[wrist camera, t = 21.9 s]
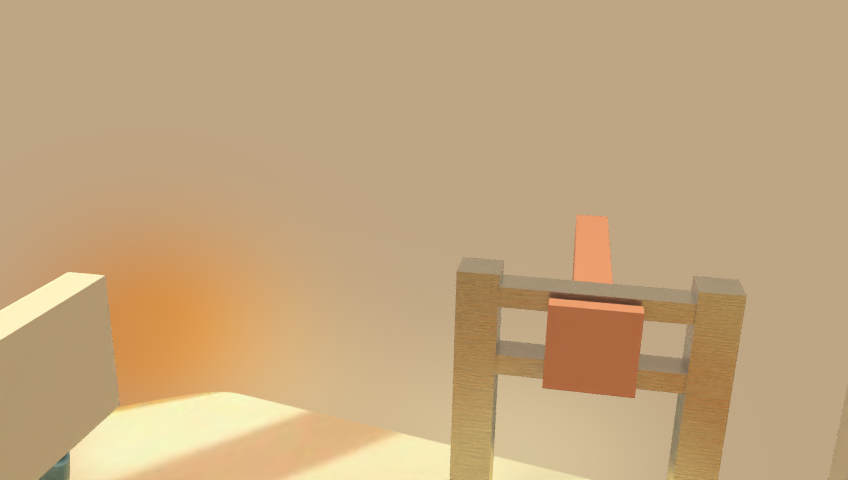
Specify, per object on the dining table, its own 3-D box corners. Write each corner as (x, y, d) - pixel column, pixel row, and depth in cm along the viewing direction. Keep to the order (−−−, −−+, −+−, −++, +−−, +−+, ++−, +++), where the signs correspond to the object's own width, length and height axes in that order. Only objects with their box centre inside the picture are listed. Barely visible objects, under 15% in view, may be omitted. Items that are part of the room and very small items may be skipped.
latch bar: (634, 398, 44) (644, 313, 42) (542, 387, 45) (548, 305, 43) (619, 261, 65) (625, 202, 63) (557, 256, 66) (561, 197, 64)
